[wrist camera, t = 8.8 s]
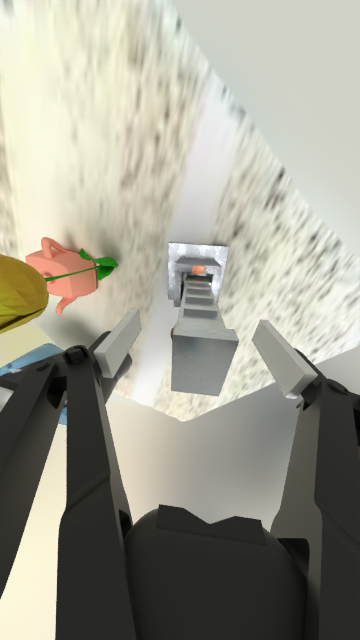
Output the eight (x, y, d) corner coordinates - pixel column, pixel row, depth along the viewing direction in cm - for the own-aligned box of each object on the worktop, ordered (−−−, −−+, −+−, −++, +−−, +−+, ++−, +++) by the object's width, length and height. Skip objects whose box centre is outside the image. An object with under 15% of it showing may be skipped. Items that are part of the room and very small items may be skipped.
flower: (127, 281, 38) (-9, 367, 12) (99, 272, 37) (-105, 345, 12) (129, 247, 33) (-80, 276, 8) (97, 238, 33) (-238, 233, 7)
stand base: (169, 297, 39) (159, 318, 29) (169, 242, 32) (157, 244, 21) (216, 301, 39) (225, 324, 28) (228, 246, 31) (245, 250, 21)
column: (184, 298, 29) (169, 390, 11) (186, 269, 26) (170, 334, 8) (204, 300, 29) (220, 396, 11) (208, 271, 25) (241, 341, 8)
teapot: (96, 243, 34) (61, 245, 25) (101, 305, 43) (77, 323, 34) (50, 231, 33) (-2, 228, 24) (66, 297, 43) (32, 312, 34)
